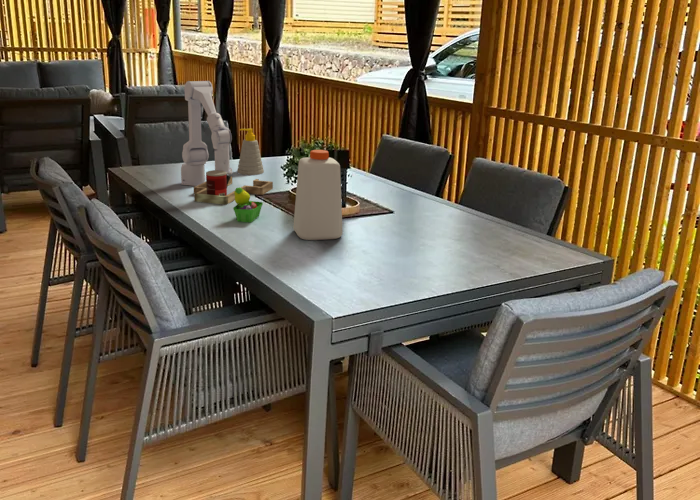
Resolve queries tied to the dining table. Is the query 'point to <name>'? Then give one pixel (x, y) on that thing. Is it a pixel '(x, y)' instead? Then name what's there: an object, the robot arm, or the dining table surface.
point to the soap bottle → (250, 156)
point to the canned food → (216, 183)
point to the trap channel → (257, 188)
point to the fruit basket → (246, 206)
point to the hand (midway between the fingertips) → (222, 193)
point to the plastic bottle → (318, 198)
